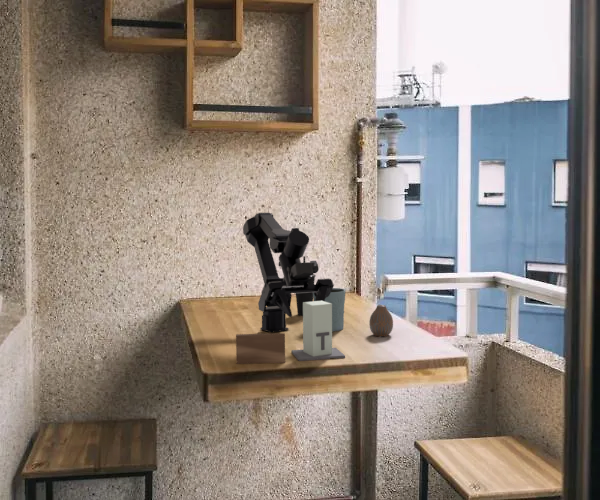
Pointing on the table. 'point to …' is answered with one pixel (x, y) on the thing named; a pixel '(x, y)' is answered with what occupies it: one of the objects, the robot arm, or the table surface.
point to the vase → (381, 321)
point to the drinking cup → (304, 295)
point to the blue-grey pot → (336, 307)
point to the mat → (304, 356)
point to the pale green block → (317, 328)
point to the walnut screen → (260, 348)
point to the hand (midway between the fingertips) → (307, 315)
